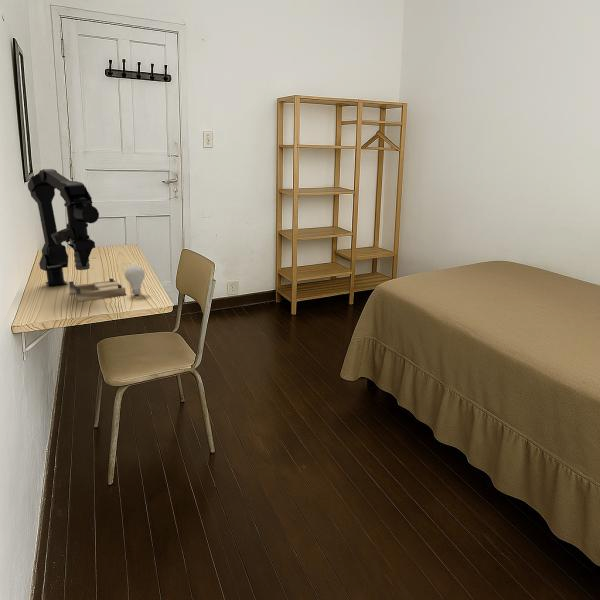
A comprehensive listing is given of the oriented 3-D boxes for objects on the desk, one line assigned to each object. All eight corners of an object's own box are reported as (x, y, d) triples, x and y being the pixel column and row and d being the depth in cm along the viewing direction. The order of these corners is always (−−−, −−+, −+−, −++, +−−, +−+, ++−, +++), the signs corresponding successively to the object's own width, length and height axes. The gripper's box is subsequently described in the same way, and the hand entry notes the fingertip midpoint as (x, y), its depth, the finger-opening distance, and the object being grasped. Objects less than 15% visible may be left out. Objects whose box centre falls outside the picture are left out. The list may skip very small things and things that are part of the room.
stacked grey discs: (74, 268, 185) (72, 251, 183) (88, 266, 187) (86, 250, 186) (77, 270, 181) (75, 253, 179) (91, 269, 184) (89, 252, 182)
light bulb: (123, 295, 187) (120, 264, 184) (140, 291, 191) (138, 262, 188) (132, 299, 182) (129, 267, 179) (150, 295, 187) (147, 265, 184)
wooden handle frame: (70, 292, 190) (68, 281, 189) (115, 286, 199) (114, 275, 198) (78, 301, 179) (76, 289, 178) (125, 294, 188) (124, 283, 186)
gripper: (46, 219, 183) (52, 263, 187) (56, 225, 168) (62, 273, 172) (80, 216, 189) (85, 259, 193) (93, 223, 174) (98, 269, 178)
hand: (82, 265), depth 184 cm, fingers closed on stacked grey discs, 5 cm apart
